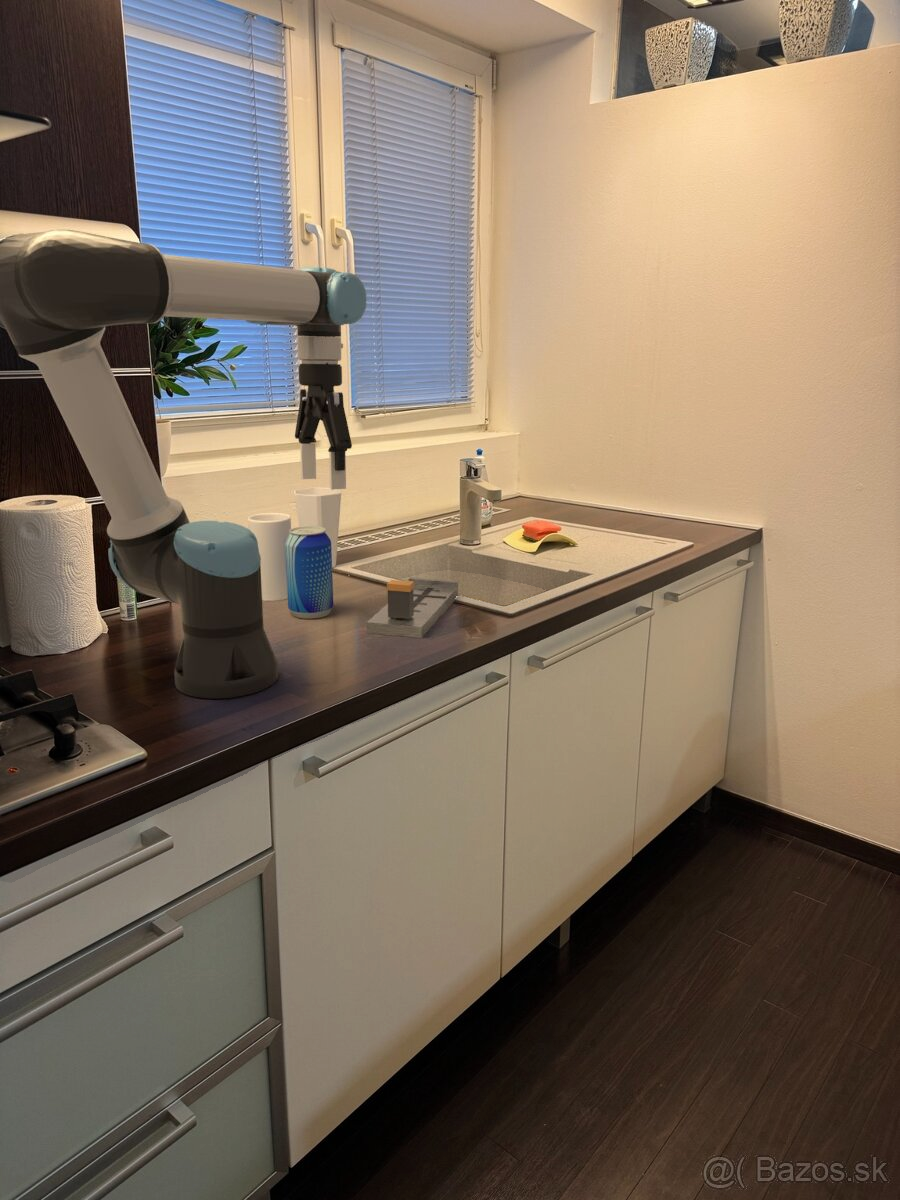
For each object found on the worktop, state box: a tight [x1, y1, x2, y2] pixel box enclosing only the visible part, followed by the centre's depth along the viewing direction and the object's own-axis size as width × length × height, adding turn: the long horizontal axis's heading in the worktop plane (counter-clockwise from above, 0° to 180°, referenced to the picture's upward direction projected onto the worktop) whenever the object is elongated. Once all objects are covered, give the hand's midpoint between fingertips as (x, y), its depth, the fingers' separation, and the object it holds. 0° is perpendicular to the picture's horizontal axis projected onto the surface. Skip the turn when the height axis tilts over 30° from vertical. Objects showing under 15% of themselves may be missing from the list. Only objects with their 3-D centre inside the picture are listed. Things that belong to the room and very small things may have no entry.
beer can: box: [285, 526, 334, 620], centre depth 160 cm, size 8×8×16 cm
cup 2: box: [293, 486, 342, 569], centre depth 193 cm, size 11×10×17 cm
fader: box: [386, 579, 414, 619], centre depth 153 cm, size 3×4×6 cm, turn 76°
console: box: [366, 576, 459, 639], centre depth 162 cm, size 26×10×3 cm, turn 165°
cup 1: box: [247, 512, 292, 602], centre depth 171 cm, size 8×8×16 cm
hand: (322, 483), depth 157 cm, fingers open, 13 cm apart
